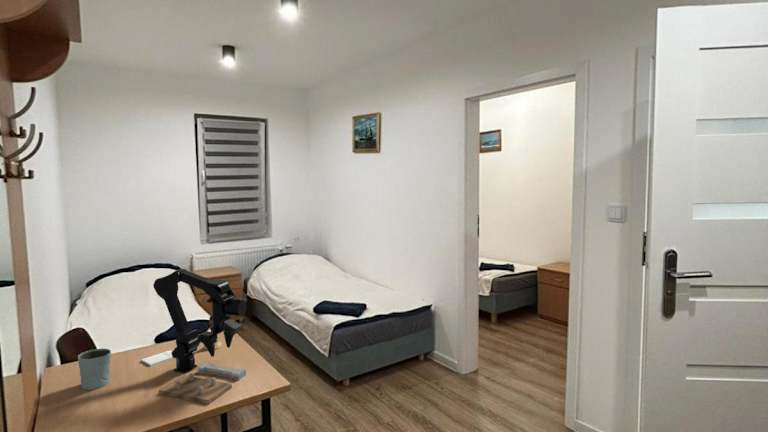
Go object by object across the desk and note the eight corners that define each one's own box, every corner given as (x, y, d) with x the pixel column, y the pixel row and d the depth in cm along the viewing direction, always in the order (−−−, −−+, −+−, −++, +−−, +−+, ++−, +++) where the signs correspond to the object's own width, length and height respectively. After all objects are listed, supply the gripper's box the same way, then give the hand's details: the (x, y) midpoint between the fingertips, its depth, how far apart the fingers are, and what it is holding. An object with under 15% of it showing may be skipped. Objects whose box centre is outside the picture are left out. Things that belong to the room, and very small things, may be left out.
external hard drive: (140, 363, 176) (170, 353, 187) (150, 368, 172) (179, 357, 182) (140, 359, 176) (170, 349, 186) (150, 364, 172) (179, 354, 182)
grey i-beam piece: (197, 372, 167) (197, 366, 166) (205, 368, 171) (205, 362, 171) (238, 380, 161) (238, 374, 161) (246, 375, 165) (245, 369, 165)
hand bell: (226, 343, 196) (225, 310, 194) (215, 351, 188) (214, 316, 186) (210, 342, 197) (208, 309, 196) (199, 349, 189) (198, 315, 188)
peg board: (158, 393, 150) (158, 383, 150) (184, 378, 162) (183, 368, 161) (208, 404, 144) (208, 393, 143) (231, 387, 155) (231, 377, 155)
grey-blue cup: (73, 388, 154) (71, 356, 153) (100, 375, 163) (98, 346, 162) (92, 393, 150) (90, 361, 149) (118, 380, 160) (117, 350, 159)
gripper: (220, 323, 152) (221, 364, 154) (251, 308, 170) (252, 345, 171) (196, 320, 156) (197, 360, 157) (229, 305, 173) (229, 342, 175)
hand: (220, 351), depth 165 cm, fingers open, 9 cm apart
